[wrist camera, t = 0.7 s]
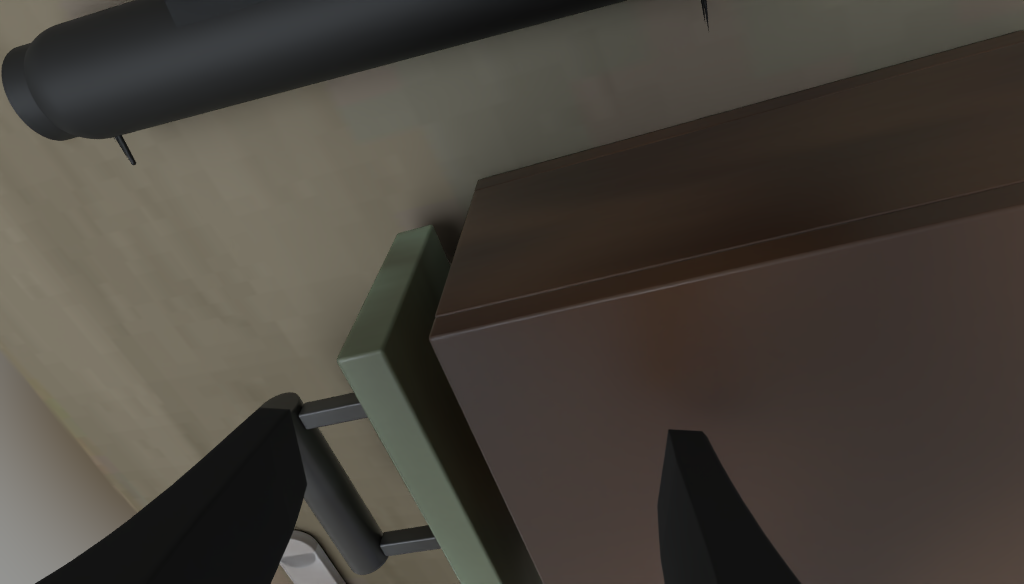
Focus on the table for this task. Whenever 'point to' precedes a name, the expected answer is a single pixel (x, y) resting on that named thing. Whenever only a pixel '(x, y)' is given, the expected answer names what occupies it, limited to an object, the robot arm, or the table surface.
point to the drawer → (408, 434)
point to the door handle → (232, 54)
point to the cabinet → (765, 328)
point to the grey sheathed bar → (308, 562)
